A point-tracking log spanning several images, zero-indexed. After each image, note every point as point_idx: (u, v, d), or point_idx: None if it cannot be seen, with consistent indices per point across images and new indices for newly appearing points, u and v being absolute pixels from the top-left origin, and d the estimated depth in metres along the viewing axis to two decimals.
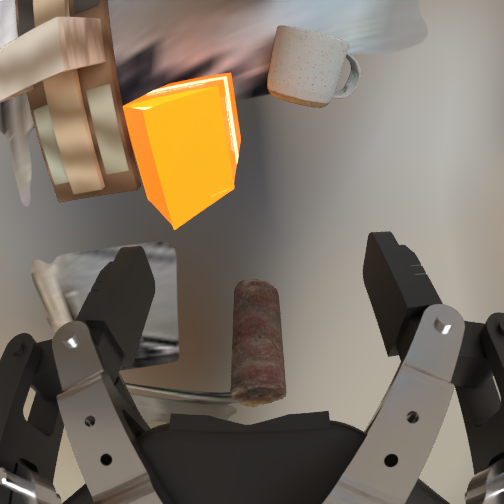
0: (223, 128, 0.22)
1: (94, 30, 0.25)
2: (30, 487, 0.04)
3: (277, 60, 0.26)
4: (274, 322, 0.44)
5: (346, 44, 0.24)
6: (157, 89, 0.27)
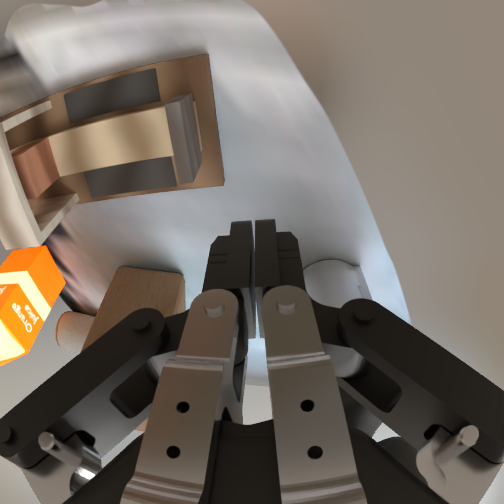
0: None
1: None
2: (73, 462, 0.05)
3: (73, 332, 0.43)
4: None
5: None
6: (27, 274, 0.35)
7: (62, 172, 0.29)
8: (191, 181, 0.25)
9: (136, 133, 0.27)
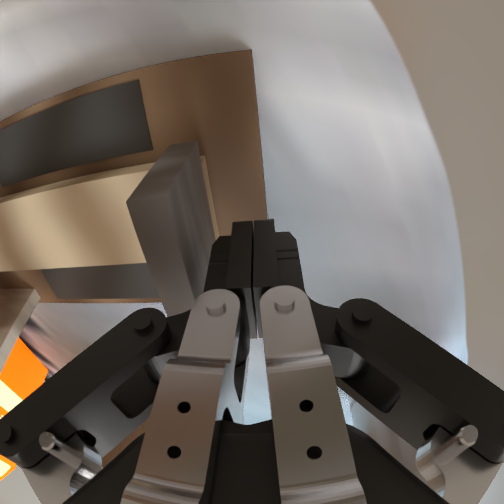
0: None
1: None
2: (73, 462, 0.05)
3: None
4: None
5: None
6: None
7: None
8: None
9: (93, 220, 0.14)
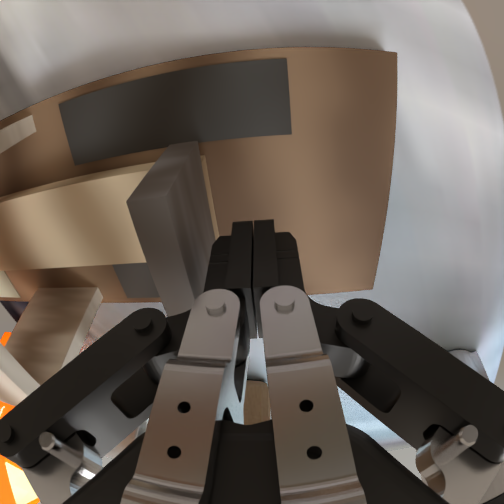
0: None
1: None
2: (73, 462, 0.05)
3: None
4: None
5: None
6: None
7: None
8: None
9: (93, 220, 0.14)
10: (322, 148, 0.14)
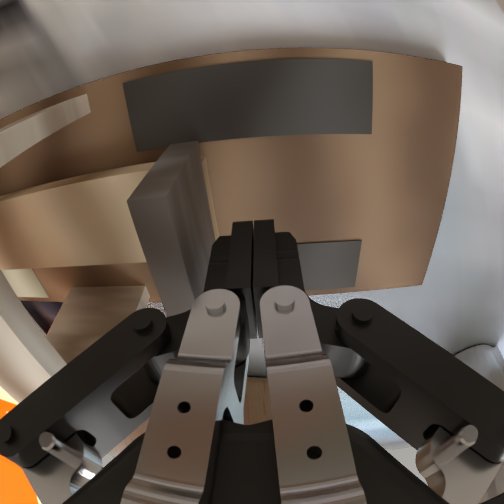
0: None
1: None
2: (73, 462, 0.05)
3: None
4: None
5: None
6: None
7: None
8: None
9: (93, 219, 0.14)
10: (396, 149, 0.13)
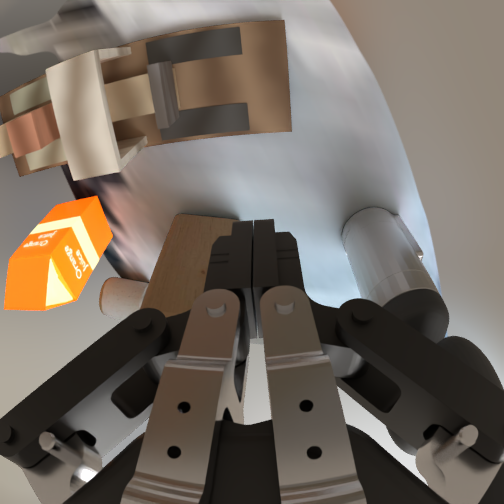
0: None
1: None
2: (73, 462, 0.05)
3: (120, 296, 0.47)
4: None
5: None
6: (80, 219, 0.38)
7: None
8: (167, 126, 0.29)
9: (126, 95, 0.31)
10: (255, 59, 0.30)
